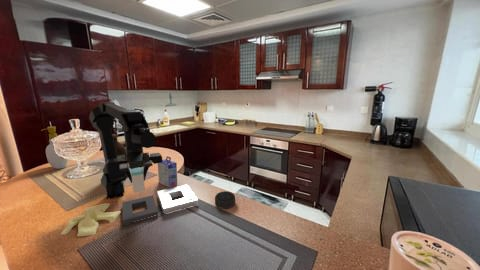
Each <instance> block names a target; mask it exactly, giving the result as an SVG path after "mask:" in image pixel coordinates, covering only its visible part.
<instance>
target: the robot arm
mask: <svg viewBox="0 0 480 270" xmlns="http://www.w3.org/2000/svg"><path fill="white" fill-rule="evenodd" d="M115 119H116V120H117V123H118V124H119V125H120V126H121V127H122V129H121V131H122V132H123V135H124V137H123V138H124V144H125V148H126V154H127V160H119V158H117V154H116V149H115V145H114V140H113V136H112V134H113V132H112V129H113V127H114V125H115ZM89 121H90V123H91V125H92V127H93V128H94V129H95V130H96V131H97V132H98V135H99V138H100V144H101V148H102V152H103V158H104V162H106V163H105V164H104V167H103V169H102V173H103V174H102V176H101V178H100V183H101V185H102V186H103V187H105V191H106V199H107V200H111V199H114V198H119V197H123V196H124V193H125V183H124V182H125V181H126V179H128V180H129V182H130V184H132V176H131V169H134V168H138V167H140V168H141V167H142V169H143V175H144V182H145V180H146V178H147V174H148V171H149V168H150V167H153V164H154V165H156V164H158V163H162V162H163V160H164V159H163V155H162V154H161V153H160V152H154V153H149V152H144V149H151V148H153V146H154V145H155V144H156V142H157V137H156V135H155V134H154V133H153V132H151V130H150V126H149V123H148V121H147V120H146V118H145V116H144V114H143V113H142V112H141V111H140V110H139V109H127V108H125V107H122V106H120V105H117V104H116V103H115V102H113V101H107V102H106V101H105V102H99V104H98V106H96V107H95V108H93V109H91V111H90V113H89ZM143 148H144V149H143ZM126 175H127V176H128V177H127V178H126Z"/></svg>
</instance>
